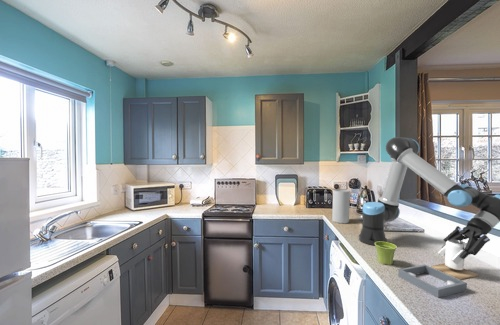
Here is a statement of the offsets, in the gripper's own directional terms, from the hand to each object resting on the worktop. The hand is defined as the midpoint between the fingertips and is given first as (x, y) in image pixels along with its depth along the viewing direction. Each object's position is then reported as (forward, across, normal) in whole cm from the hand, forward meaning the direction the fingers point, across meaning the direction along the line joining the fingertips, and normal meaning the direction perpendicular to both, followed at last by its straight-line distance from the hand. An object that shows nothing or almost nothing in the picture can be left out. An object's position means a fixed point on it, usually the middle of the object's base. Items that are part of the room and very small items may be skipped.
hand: (446, 258), depth 106 cm
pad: (+2, 0, -7) cm, 7 cm away
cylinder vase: (+14, +80, +5) cm, 82 cm away
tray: (+15, -9, +7) cm, 19 cm away
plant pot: (+20, +9, +12) cm, 25 cm away
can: (0, 0, -6) cm, 6 cm away
